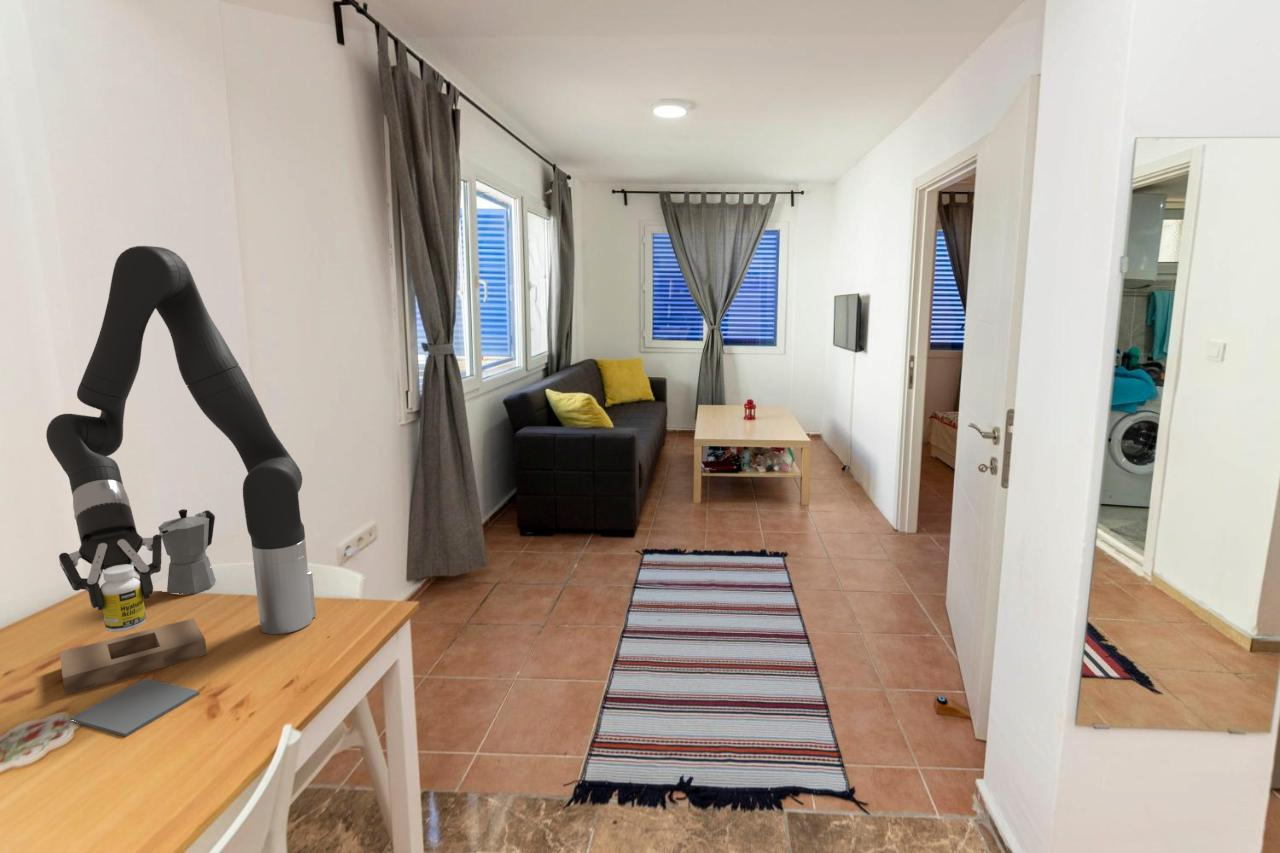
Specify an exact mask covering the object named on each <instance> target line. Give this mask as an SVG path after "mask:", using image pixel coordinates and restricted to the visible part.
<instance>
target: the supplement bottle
mask: <svg viewBox="0 0 1280 853" xmlns="http://www.w3.org/2000/svg"><path fill="white" fill-rule="evenodd" d="M102 574H103V580H104V583H103V584H101V586H100V591H101V595H102V600H103V605H104V609H103V610H102V612H103V621H104V627H105V630H106V631H108V632H110V633H121V632H127V631H131V630H134V629H136V628H138V627H140V626H142V625H143V624H145V622H147V621H146V620H147V616H146V608H145V601H144V600H145V599H144V597H143V592H142V585H141V581H140V577H137V576H135V575H136V572H135V571H134V566H133V565H130V564H123V565H117V566H113V567H110V568H107V569H105V570H104V569H103V572H102Z"/></svg>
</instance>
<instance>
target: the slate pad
mask: <svg viewBox="0 0 1280 853" xmlns="http://www.w3.org/2000/svg"><path fill="white" fill-rule="evenodd" d="M200 694H201V693H200V690H196V689H193V688H188V687H186V686H185V687H184V686H180V685H176V684H172V683H167V682H165V681H160V680H156V679H151V678H147V677H145V678H143V679H142V680H140V681H139V680H138V681H137V682H136V683H134V684H132V685H130V686H128V687H126V688H124V689H123V690H121V691H118V692H116V693H115V694H113V695H111V696H109V697H107V698H105V699H103V700H102V701H99V702H97V703H95V704H93V705H91V706H90V707H87V708H86V709H84V710H82V711H80V712H78V713H76V714H74V715H72V716H70V717H69V721H70V720H74V721H76V722H78V723H77V724H80V725H84V726H85V727H90V728H94V729H97V730H101V731H104V732H108V733H111V734H116V735H118V736H123V737H128V736H130V735H132V734H133V733H135V732H137V731H139V730H140V729H141V728H143V727H146V726H147V725H149V724H150V723H152V722H153V721H156V720H157V719H159V718H161V717H162V716H164V715H165V714H168V713H170V712H171V711H172V710H174V709H177V708H178V707H180V706H181V705H183V704H185V703H186V702H188V701H190V700H192V699H193V698H195V697H196V696H198V695H200ZM76 722H75V723H76Z"/></svg>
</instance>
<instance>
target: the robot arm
mask: <svg viewBox="0 0 1280 853" xmlns="http://www.w3.org/2000/svg"><path fill="white" fill-rule="evenodd" d="M112 271H113V272H112V275H111V276H112V277H111V281H110V287H109V294H108V298H107V299H108V300H107V304H106V307H105V313H104V316H103V320H102V323H101V328H100V330H99V334H98V337H97V340H96V343H95V346H94V348H93V351H92V353H91V355H90V359H89V361H88V363H87V366H86V368H85V370H84V374H83V375H82V378H81V381H80V383H79V386H78V387H77V392H76V397H77V399H78V400H79V401H80V402H81V403H83V404H84V405H85V406H88V407H91V408H94V409H96V410H99V411H100V415H99V417H97V416H92V415H82V414H77V413H62V414H59V415H57V416H55V417H54V418H52V419H51V421H50V422H49V424H48V425H47V429H46V433H45V435H46V437H45V438H46V442H47V445H48V448H49V449H50V452H51V453H52V454H53V456H54V457H55V459H56V461H57V462H58V463H59V465H60V466H61V468H62V470H63V471H64V472H65V474H66V475H67V477H68V480H69V485H70V489H71V490H70V491H71V494H72V508H73V513H74V514H73V515H74V517H73V518H74V520H75V522H76V526H77V532H78V536H79V540H80V547H79V548H78V550H77V551H74V552H70V553H68V552H61V553H60V554H58V561H59V565H60V567H61V569H62V572H63V573H64V575H65V576H66V579H67V581H68V583H69V584H70V586H71V588H72V590H74V591H80V590H84V591H87V592H88V596H89V600H90V604H91V607H92V608H93V609H96V608H97V611H103V609H104V605H103V600H102V595H101V591H100V588H101V586H100V583H99V582H100V580H101V578H102V574H103V571H104V570H105V569H107V568H110V567H113V566H117V565H123V564H130V565H133V566H134V571H135V574H137V575H138V577H139V579H140V581H141V585H142V592H143V599H144V600H146V599H150V596H151V595H153V593H154V585H153V581H152V578H151V577H152V575H153V574H156V573H157V574H158V573H160V572H161V571H162V570H161V569H162V543H163V540H162V537H161V535H159V534H155V535H153V536H152V537H143V536H141V535H140V534H139V533H138V531H137V527H136V523H135V519H134V514H133V511H132V507H131V503H130V499H129V496H128V493H127V492H126V490H125V486H124V484H123V479H122V476H121V472H120V468H119V465H118V463H117V462H116V460H115V459H113V458H112V457H109V456H111V455H114V453H116V452H118V450H119V448H120V447H121V445H122V443H123V438H124V420H125V419H124V418H125V409H126V403H127V400H128V397H129V395H130V392H131V389H132V388H133V385H134V382H135V380H136V378H137V374H138V372H139V368H140V364H141V357H142V348H143V347H142V346H143V340H144V334H145V332H146V329H147V325H148V323H149V321H150V319H151V316H152V315H153V314H154V311H157V312H158V314H159V316H160V318H161V319H162V320H163V322H164V324H165V326H166V327H167V329H168V332H169V334H170V338H171V341H172V343H173V344H172V345H173V349H174V354H175V358H176V362H177V365H178V370H179V373H180V375H181V378H182V380H183V382H184V384H185V386H186V387H187V390H188V391H189V393H190V395H191V396H192V398H193V400H194V402H195V403H196V404H197V406H198V407H199V409H200V410H201V411H202V413H203V414H204V415H205V416H206V417H207V419H209V421H210V422H211V423H212V424H213V425H214V426H215V427H216V428H217V429H219V431H221V432H222V433H223V434H224V435H225V436H226V437H227V439H228V440H229V441H230V442H231V443H232V444H233V447H234V448H235V449H236V451H237V453H238V454H239V458H241V461H242V463H243V464H244V465H243V466H244V467H245V469H246V471H247V475H246V476H245V478H244V480H243V483H242V484H243V485H242V499H243V508H244V516H245V522H246V523H245V524H246V529H247V533H248V534H249V537H250V540H251V551H252V560H253V570H254V579H255V580H254V581H255V589H256V598H257V607H258V608H257V609H258V617H259V627H260V631H261V632H263V633H264V634H268V635H284V634H287V633H292V632H296V631H297V632H298V631H299V630H301V629H304V628H305V627H307V626H308V625H310V624H311V623H312V621H313V618H315V617H316V616H317V612H316V602H315V590H314V578H313V572H312V571H310V570H309V567H308V565H309V564H308V556H307V555H308V554H307V545H306V532H305V526H304V523H303V522H302V518H301V511H300V510H301V509H300V500H299V498H300V497H299V492H300V491H301V488H302V484H303V476H302V472H301V470H300V467H299V466H298V464H297V463H296V461H295V460H294V458H292V456H291V454H290V453H289V451H288V450H287V449H286V448H285V446H284V445H283V443H282V442H281V440H280V439H279V438H278V436H277V434H276V432H274V430H273V429H272V426H271V425H270V423H269V420H268V418H267V417H266V414H265V412H264V409H263V408H262V405H261V404H260V402H259V400H258V398H257V396H256V394H255V392H254V390H253V388H252V386H251V384H250V382H249V381H248V379H247V377H246V375H245V373H244V371H243V370H242V367H241V366H240V365H239V362H238V361H237V359H236V358H235V356H234V355H233V353H232V352H231V349H230V348H229V345H228V344H227V343H226V340H225V339H224V337H223V335H222V334H221V332H220V331H219V329H218V328H217V326H216V325H215V322H214V321H213V319H212V318H211V317H212V316H210V314H209V312H208V309H207V308H206V306H205V303H204V301H203V299H202V296H201V294H200V292H199V289H198V286H197V284H196V282H195V280H194V277H193V275H192V273H191V271H190V268H189V266H188V265H187V263H186V262H185V260H183V258H182V257H181V256H180V255H179V254H177V253H176V252H174V251H173V250H171V249H168V248H165V247H162V246H161V247H160V246H154V245H153V246H150V245H137V246H132V247H129V248H127V249H125V250H124V251H123V252H121V253H120V255H119V256H118V257H117V259H116V260H115V263H114V266H113V270H112ZM142 546H144V547H146V550H148V551H149V552H152V553H151V554H152V556H151V557H152V558H151V559H152V560H151V563H149V564H147V563H146V562H145V561H144V560H143V558H142V557H141V556H140V555H139V554H138V553H139V551H140V550H141V548H142ZM80 559H82V560H83V561H85V562H87V563H88V564H90V565H91V567H90V570H89V574H88V577H87V578H85V577H83V578H82V576H81V575H80V573H79V572H78V570H77V566H78V565H79V560H80Z"/></svg>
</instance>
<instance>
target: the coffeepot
mask: <svg viewBox="0 0 1280 853" xmlns="http://www.w3.org/2000/svg"><path fill="white" fill-rule="evenodd" d="M178 514H179V517H178V518H174V519H170V520H167V521H164V522H163V523H161V524H159V526H158V531H159V534H158V535H161V537H162V543H163V546H164V548H165V552H166V555H167V556H169V560H170V561H169V564H168V573H167V587H166V588H167V589H166V592H167V593H169V594H170V593H179V594H182V593H183V594H188V593H189V594H190V595H195V594H199V593H202V592H205V591H207V590H209V589H211V588H213V587H214V585H215V583H216V581H217V580H216V577H215V573H214V571H213V570H214V569H213V568H210V566H211V567H212V565H211V560H210V558H209V556H208V555H207V552H206V550H207V548H208V547H209V546H210V545H212V542H213V535H214V526H215V522H216V517H215V514H214V513H213V512H212V511H210V510H207V509H206V510H204V511H202V512H199V513H196V514H195V515H194V516H188V509H183V508H182V509H179V510H178Z"/></svg>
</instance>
